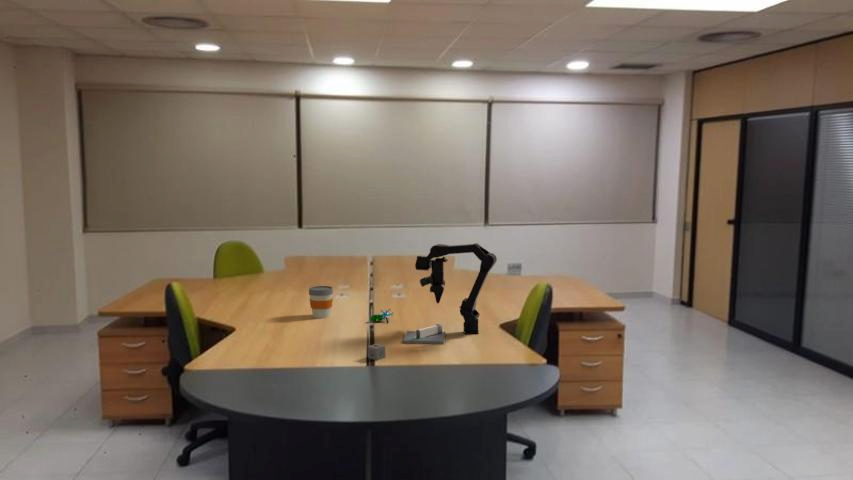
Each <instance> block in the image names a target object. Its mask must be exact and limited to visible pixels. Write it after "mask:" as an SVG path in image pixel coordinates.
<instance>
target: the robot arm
mask: <svg viewBox="0 0 853 480" xmlns="http://www.w3.org/2000/svg"><path fill="white" fill-rule="evenodd" d="M468 253H469V254H474V255H475V257H477V259H478V260H479V261H480V266H479V272H478V274H477V276H476V278H475V281H474V284H473V286H472V288H471V290H470V293H469V295H468V297H465V298H464V299H462V301H461V304H460V306H459V313H460V315H461V316H462V317H463V320H464V321H463V332H464V334H465V335H467V334H470V335H479V331H480V330H479V317H480V312H479V311H478V310H477V309H476V307H477V301H478V297H479V295H480V293H481V290H482V288H483V286H484V284H485V282H486V279H487V276H488V274H489V273H490V272H491V270H492V268H493V267H494V266H495V264H496V263H497V260H498V258H497V256H496V255H495V254H494V253H493V252H490V251H489V250H487V249H486V248H484V247H483V246H481V245H480V244H479V243H476V242H475V243H469V244H468V243H467V244H456V245H455V244H454V245H449V244H443V243H442V244H441V243H437V244H435V245H432V246H431V247H430V249H429V253H428V255H427V256H422V255H418V256H416V260H415V263H414V264H415V265H414V267H415V270H416V271H426V272H427V271H429V270H431V273H430V275H428V276H424V277H422V278H419V284H420V286H421V288H422V287H425V286H427V285H430V287H429V292H430V293H434V298H435V302H436V304H440V301H441V299H442V297H443V294H444V291H445V285H446V280H445V279H444V277H445V272H444V271H445V270H444V267H445V266H444V263H447V262H448V261H449V259H447V258H446V256H449V255H452V254H453V255H456V254H458V255H459V254H468Z"/></svg>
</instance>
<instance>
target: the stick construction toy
mask: <svg viewBox="0 0 853 480" xmlns="http://www.w3.org/2000/svg"><path fill="white" fill-rule="evenodd" d="M391 310H392V309H391V308H389V309H388V310H387V309H385V312H384V310H383V309H380V312H381V313H382V314H380V313H378V314H373V315H371V316H370V318H369V320H370V321H371V322H377V323H379V322H382V321H386V324H389V323H390V322H389V321H390V320H391V319H390V318H389V316H393V315H394V312H392V313H388V312H390V311H391Z"/></svg>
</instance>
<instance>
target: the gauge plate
mask: <svg viewBox="0 0 853 480" xmlns="http://www.w3.org/2000/svg"><path fill="white" fill-rule="evenodd" d="M446 334H447V333H446V331H442V333H440V334H434V335H430V336H426V337H423V338H419V339H418V338H416V330H415V331H414V330H407V331H406V333H405V336H404V338H403V340H402V343H403V344H425V345H426V344H429V345H430V344H432V345H443V344H444V343H445V340H446Z"/></svg>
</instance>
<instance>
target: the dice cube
mask: <svg viewBox="0 0 853 480" xmlns="http://www.w3.org/2000/svg"><path fill="white" fill-rule="evenodd" d="M367 358H368V359H370V360H374V361H379V360H382V359H385V358H386V345H383V344H379V343H374V344H371V345H368V346H367Z"/></svg>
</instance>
